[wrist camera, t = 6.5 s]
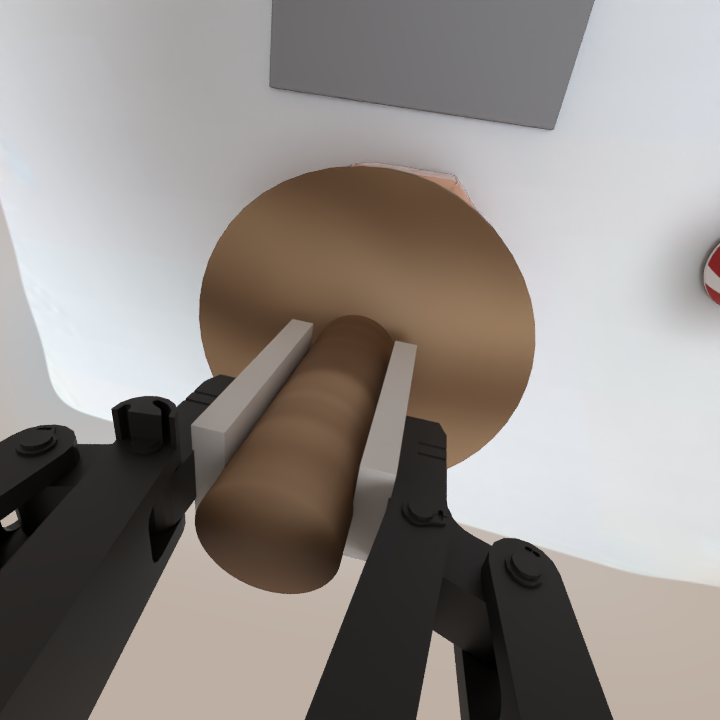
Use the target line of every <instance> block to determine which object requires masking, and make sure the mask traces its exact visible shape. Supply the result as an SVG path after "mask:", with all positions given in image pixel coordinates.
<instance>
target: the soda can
mask: <svg viewBox="0 0 720 720" xmlns="http://www.w3.org/2000/svg"><path fill="white" fill-rule="evenodd" d="M704 286H705V289H706V291H707V293H708V295H709V296H710V298H711V299H712V300H713V301H714V302H715V303H717V304H718V305H720V243H719V244H718V245H717V246H716V247H715V248H714V250H713V251H712V252H711V254H710V256H709V258H708V259H707V262H706V265H705V269H704Z"/></svg>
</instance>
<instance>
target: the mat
mask: <svg viewBox="0 0 720 720" xmlns="http://www.w3.org/2000/svg"><path fill="white" fill-rule="evenodd" d="M594 1H595V0H272V25H271V54H270V83H269V86H270V87H273V88H278V89H285V90H291V91H298V92H305V93H311V94H318V95H324V96H331V97H338V98H344V99H351V100H357V101H364V102H370V103H377V104H384V105H390V106H397V107H403V108H410V109H417V110H423V111H430V112H436V113H443V114H450V115H456V116H463V117H469V118H476V119H483V120H489V121H496V122H502V123H509V124H516V125H522V126H529V127H535V128H542V129H549V130H553V129H554V127H555V124H556V121H557V118H558V115H559V111H560V108H561V105H562V102H563V99H564V96H565V92H566V89H567V86H568V83H569V80H570V77H571V73H572V70H573V67H574V64H575V61H576V58H577V54H578V51H579V48H580V45H581V42H582V39H583V35H584V32H585V29H586V26H587V23H588V20H589V16H590V13H591V10H592V7H593V4H594Z"/></svg>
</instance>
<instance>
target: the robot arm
mask: <svg viewBox="0 0 720 720" xmlns="http://www.w3.org/2000/svg"><path fill="white" fill-rule="evenodd" d="M312 331H313V323H309V322H304V321H300V320H295V319H292V320H291V321H290V322H289V323H288V324H287V325H286V326H285V328H284V329H283V330H282V331H281V332H280V333H279V334H278V335H277V336H276V337H275V338H274V339H273V340H272V341H271V342H270V343H269V344H268V345H267V346H266V347H265V348H264V349H263V350H262V351H261V353H260V354H259V355H258V356H257V357H256V358H255V359H254V360H253V361H252V362H251V363H250V364H249V365H248V366H247V367H246V368H245V369H244V370H243V371H242V372H241V373H240V374H239V375H238V376H237V378H235V377H230V376H226V375H221V374H220V375H218V376H215V377H213V378H211V379H208V380H206V381H204V382H203V383H202V384H201V385H200V386H199V387H198V388H197V389H196V390H195V391H194V393H193V392H192V393H191V394H190V395H189V396H188V397H187V398H186V400H185V401H183V402H182V403H180V404H179V405H178V406H177V407H176V405H175V404H174V403H173V402H171V401H170V400H169V399H165V398H162V397H158V396H143V397H137V398H132V399H129V400H126V401H123V402H121V403H119V404H118V405H116V406H115V407H113V408H112V409H111V410H112V416H113V422H114V428H115V435H116V441H115V442H114V443H113V444H77V440H76V436H75V434H74V431H72V430H71V429H69V428H68V427H66V426H60V425H41V426H37V427H33V428H28V429H25V430H23V431H21V432H18V433H16V434H14V435H12V436H10V437H8V438H7V439H5V440H3V441H1V442H0V520H2V519H3V518H5V517H6V516H7V515H9V514H10V513H11V512H13V511H14V510H15V511H16V514H17V517H18V520H17V521H16V522H15V523H13V524H11V525H9V526H7V527H2V525H1V522H0V720H88V718H89V716H90V714H91V712H92V710H93V708H94V706H95V704H96V702H97V700H98V698H99V697H100V695H101V693H102V690H103V689H104V687H105V685H106V683H107V680H108V679H109V677H110V675H111V673H112V671H113V669H114V667H115V665H116V663H117V661H118V659H119V657H120V655H121V653H122V651H123V649H124V647H125V645H126V643H127V641H128V639H129V637H130V635H131V633H132V631H133V629H134V627H135V625H136V623H137V622H138V620H139V618H140V616H141V614H142V612H143V610H144V608H145V606H146V604H147V602H148V600H149V598H150V596H151V594H152V592H153V590H154V588H155V586H156V584H157V582H158V580H159V578H160V576H161V574H162V572H163V570H164V568H165V566H166V564H167V562H168V560H169V558H170V556H171V554H172V553H173V551H174V548H175V547H176V545H177V543H178V540H179V539H180V537H181V535H182V533H183V530H184V526H185V512H186V511H187V509H188V508H189V507H190V505H191V504H192V502H193V501H194V500H195V509H196V510H197V508H198V505H199V503H200V502H201V501H202V499H203V498H204V496H205V495H206V494H207V492H208V491H209V489H210V488H211V487H212V485H213V484H214V482H215V481H216V480H217V478H218V477H219V475H220V474H221V473H222V471H223V470H224V468H225V467H226V466H227V464H228V463H229V461H230V460H231V459H232V457H233V456H234V454H235V453H236V452H237V450H238V449H239V447H240V446H241V445H242V443H243V442H244V440H245V439H246V438H247V436H248V435H249V433H250V432H251V431H252V429H253V428H254V426H255V425H256V424H257V422H258V421H259V419H260V418H261V417H262V415H263V414H264V413H265V411H266V410H267V408H268V407H269V406H270V404H271V403H272V401H273V400H274V399H275V397H276V396H277V394H278V393H279V392H280V390H281V389H282V387H283V386H284V385H285V383H286V382H287V380H288V379H289V378H290V376H291V375H292V373H293V372H294V371H295V369H296V368H297V366H298V365H299V364H300V362H301V361H302V359H303V358H304V357H305V355H306V354H307V352H308V351H309V350H310V348H311V342H312ZM416 350H417V345H414V344H409V343H404V342H400V341H395V344H394V348H393V351H392V355H391V358H390V362H389V365H388V369H387V372H386V376H385V379H384V383H383V386H382V390H381V394H380V397H379V401H378V404H377V408H376V411H375V415H374V418H373V422H372V425H371V429H370V432H369V436H368V439H367V443H366V446H365V450H364V453H363V457H362V461H361V464H360V468H359V474H358V479H357V484H356V490H355V495H354V500H353V517H352V521H351V525H350V529H349V532H348V536H347V540H346V544H345V548H344V554H343V555H345V556H349V557H353V558H356V559H360V560H364V561H366V563H365V566H364V568H363V571H362V574H361V576H360V579H359V581H358V584H357V587H356V589H355V592H354V594H353V597H352V599H351V602H350V604H349V607H348V610H347V612H346V615H345V617H344V620H343V623H342V625H341V628H340V630H339V633H338V635H337V638H336V641H335V643H334V646H333V648H332V651H331V654H330V656H329V659H328V661H327V664H326V667H325V669H324V671H323V674H322V677H321V679H320V682H319V684H318V687H317V690H316V692H315V695H314V697H313V700H312V702H311V705H310V708H309V710H308V713H307V715H306V718H305V720H416V716H417V711H418V706H419V701H420V695H421V690H422V684H423V679H424V673H425V668H426V663H427V657H428V652H429V647H430V641H431V636H432V631H433V630H434V631H435V632H437V633H438V634H440V635H441V636H443V637H444V638H446V639H447V640H449V641H451V642H452V643H454V653H455V663H456V673H457V683H458V694H459V703H460V714H461V720H613V717H612V715H611V712H610V709H609V707H608V704H607V701H606V698H605V695H604V693H603V690H602V687H601V685H600V682H599V679H598V677H597V674H596V671H595V668H594V665H593V663H592V660H591V658H590V655H589V652H588V649H587V646H586V644H585V641H584V638H583V635H582V633H581V630H580V628H579V625H578V622H577V619H576V616H575V614H574V611H573V608H572V605H571V603H570V600H569V597H568V595H567V592H566V589H565V586H564V584H563V581H562V578H561V575H560V574H559V572H558V570H557V568H556V566H555V565H554V563H553V561H552V560H550V558H549V557H548V556H547V555H546V554H544V552H543V551H541V550H540V549H538V548H537V547H535V546H534V545H532V544H530V543H528V542H525V541H522V540H519V539H516V538H503V539H501V540H499V541H496V542H494V544H493V545H492V546H491V545H489V544H487V543H485V542H484V541H482V540H480V539H478V538H476V537H474V536H473V535H471V534H470V533H468V532H467V531H465V530H464V529H463V528H462V527H460V526H459V525H458V524H457V523H456V521H455V520H454V519H453V517H452V514H451V513H450V511H449V509H448V507H447V461H446V459H447V451H446V449H447V435H446V434H445V432H444V430H443V428H442V427H441V425H440V423H437V422H433V421H428V420H424V419H420V418H415V417H411V416H406V412H407V406H408V400H409V394H410V387H411V381H412V375H413V369H414V362H415V356H416Z"/></svg>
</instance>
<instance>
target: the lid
mask: <svg viewBox="0 0 720 720" xmlns="http://www.w3.org/2000/svg"><path fill="white" fill-rule="evenodd" d="M292 319H295V320H300V321H304V322H309V323H313V331H312V342H311V348H310V350H309V351H308V352H307V354H306V355H305V357H304V358H303V359H302V361H301V362H300V364H299V365H298V366H297V368H296V369H295V371H294V372H293V373H292V375H291V376H290V378H289V379H288V380H287V382H286V383H285V385H284V386H283V387H282V389H281V390H280V392H279V393H278V394H277V396H276V397H275V399H274V400H273V401H272V403H271V404H270V406H269V407H268V408H267V410H266V411H265V413H264V414H263V415H262V417H261V418H260V419H259V421H258V422H257V424H256V425H255V426H254V428H253V429H252V431H251V432H250V433H249V435H248V436H247V438H246V439H245V440H244V442H243V443H242V445H241V446H240V447H239V449H238V450H237V452H236V453H235V454H234V456H233V457H232V459H231V460H230V461H229V463H228V464H227V466H226V467H225V468H224V470H223V471H222V473H221V474H220V475H219V477H218V478H217V480H216V481H215V482H214V484H213V485H212V487H211V488H210V489H209V491H208V492H207V494H206V495H205V496H204V498H203V499H202V501H201V502H200V503H199V505H198V508H197V510H196V515H195V527H196V532H197V535H198V538H199V540H200V542H201V544H202V546H203V547H204V549H205V550H206V552H207V553H208V555H209V556H210V557H211V558H212V559H213V560H214V561H215V562H216V563H217V564H218V565H219V566H220V567H221V568H222V569H223V570H225V571H226V572H227V573H229V574H230V575H232V576H233V577H235V578H237V579H238V580H240V581H242V582H244V583H246V584H248V585H251V586H253V587H256V588H259V589H262V590H266V591H270V592H275V593H282V594H300V593H306V592H310V591H313V590H316V589H319V588H321V587H322V586H324V585H326V584H327V583H328V582H329V581H330V580H332V579H333V577H334V576H335V575H336V573H337V571H338V569H339V566H340V563H341V559H342V555H343V551H344V548H345V544H346V540H347V536H348V532H349V529H350V525H351V521H352V517H353V500H354V495H355V490H356V484H357V479H358V474H359V468H360V464H361V461H362V457H363V453H364V450H365V446H366V443H367V439H368V436H369V432H370V429H371V425H372V422H373V418H374V415H375V411H376V408H377V404H378V401H379V397H380V394H381V390H382V386H383V383H384V379H385V376H386V372H387V369H388V365H389V362H390V358H391V355H392V351H393V348H394V344H395V341H400V342H404V343H409V344H414V345H417V350H416V356H415V362H414V369H413V375H412V381H411V387H410V394H409V400H408V406H407V412H406V416H411V417H415V418H420V419H424V420H428V421H433V422H437V423H440V425H441V427H442V428H443V430H444V432H445V434H446V435H447V449H446V451H447V459H446V461H447V469H448V468H450V467H452V466H454V465H456V464H458V463H460V462H462V461H464V460H465V459H467V458H468V457H470V456H471V455H473V454H474V453H476V452H477V451H479V450H480V449H481V448H482V447H483V446H485V445H486V444H487V443H488V442H489V441H490V440H492V439H493V438H494V437H495V436H496V434H497V433H498V432H499V431H500V430H501V429H502V428H503V426H504V425H505V424H506V423H507V422H508V420H509V418H510V417H511V415H512V414H513V412H514V411H515V409H516V408H517V406H518V404H519V402H520V400H521V398H522V396H523V393H524V391H525V389H526V387H527V383H528V380H529V377H530V373H531V370H532V365H533V358H534V351H535V321H534V315H533V309H532V303H531V299H530V296H529V293H528V289H527V286H526V283H525V280H524V277H523V275H522V273H521V271H520V269H519V267H518V265H517V263H516V261H515V259H514V257H513V256H512V254H511V252H510V251H509V249H508V248H507V246H506V245H505V244H504V242H503V241H502V239H501V238H500V237H499V235H498V234H497V232H496V231H495V229H494V228H493V227H492V226H491V225H490V224H489V223H488V222H487V221H486V220H485V219H484V218H483V217H482V215H481V214H480V213H479V212H478V211H477V210H475V209H474V208H473V207H472V206H470V205H469V204H468V203H467V202H465V201H464V200H463V199H461V198H460V197H459V196H458V195H456V194H454V193H452V192H451V191H449V190H447V189H446V188H444V187H442V186H440V185H439V184H437V183H435V182H432V181H430V180H427V179H425V178H422V177H420V176H417V175H415V174H412V173H408V172H404V171H399V170H395V169H391V168H384V167H373V166H350V167H335V168H328V169H323V170H319V171H314V172H309V173H305V174H303V175H300V176H297V177H295V178H292V179H289V180H287V181H284V182H282V183H280V184H279V185H277V186H275V187H273V188H271V189H270V190H268V191H266V192H264V193H263V194H261V195H260V196H259V197H258V198H256V199H255V200H254V201H252V202H251V203H250V204H249V205H247V206H246V207H245V208H244V209H243V210H242V211H241V212H240V213H239V214H238V215H237V217H236V218H235V219H234V220H233V221H232V222H231V223H230V224H229V226H228V227H227V229H226V230H225V232H224V233H223V234H222V236H221V237H220V239H219V240H218V242H217V244H216V246H215V248H214V250H213V252H212V255H211V257H210V259H209V261H208V264H207V268H206V271H205V274H204V277H203V282H202V288H201V294H200V308H199V321H200V330H201V339H202V343H203V347H204V351H205V356H206V359H207V361H208V364H209V367H210V370H211V372H212V375H213V377H215V376H218V375H220V374H221V375H226V376H230V377H235V378H237V376H238V375H239V374H240V373H241V372H242V371H243V370H244V369H245V368H246V367H247V366H248V365H249V364H250V363H251V362H252V361H253V360H254V359H255V358H256V357H257V356H258V355H259V354H260V353H261V351H262V350H263V349H264V348H265V347H266V346H267V345H268V344H269V343H270V342H271V341H272V340H273V339H274V338H275V337H276V336H277V335H278V334H279V333H280V332H281V331H282V330H283V329H284V328H285V326H286V325H287V324H288V323H289V322H290V321H291V320H292Z"/></svg>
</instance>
